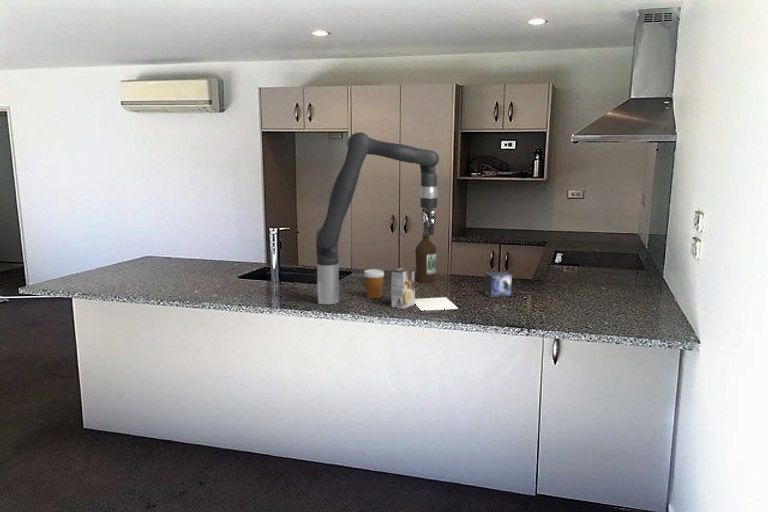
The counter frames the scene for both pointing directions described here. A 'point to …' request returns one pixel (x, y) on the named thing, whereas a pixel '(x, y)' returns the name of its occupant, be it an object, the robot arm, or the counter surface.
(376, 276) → the disposable coffee cup
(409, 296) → the coffee box
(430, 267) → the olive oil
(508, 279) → the small box
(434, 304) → the mat
